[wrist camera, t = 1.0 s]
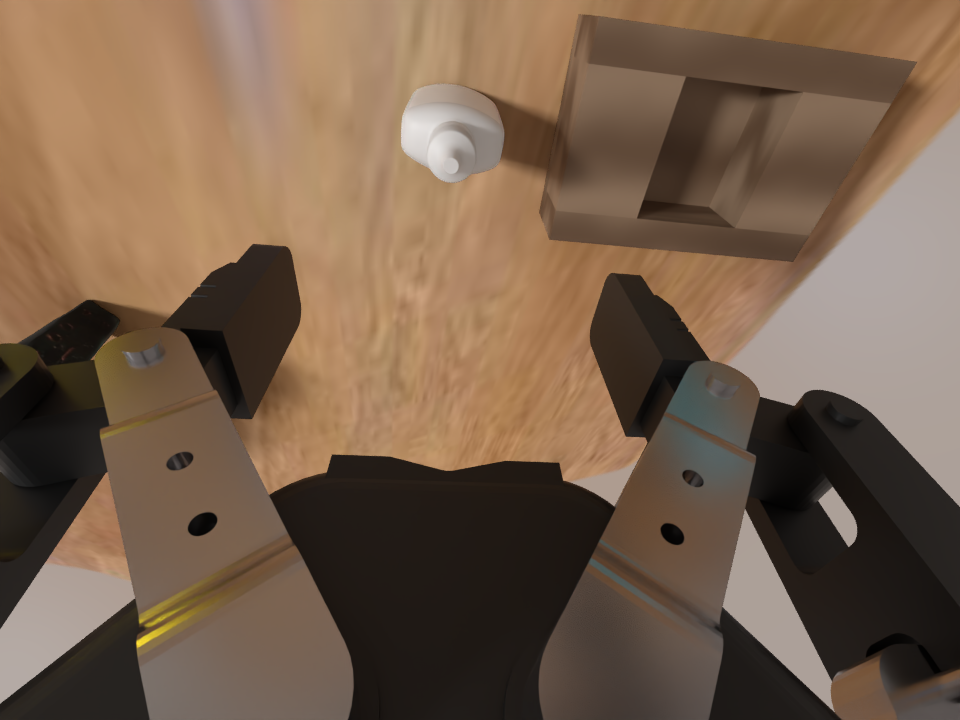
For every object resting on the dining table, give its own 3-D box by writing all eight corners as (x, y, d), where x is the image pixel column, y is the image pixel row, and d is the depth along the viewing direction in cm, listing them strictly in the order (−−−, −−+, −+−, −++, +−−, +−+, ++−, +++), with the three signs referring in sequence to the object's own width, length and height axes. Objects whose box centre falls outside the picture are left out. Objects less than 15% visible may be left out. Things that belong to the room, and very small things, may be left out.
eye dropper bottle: (438, 50, 27) (426, 75, 17) (507, 114, 29) (529, 166, 20) (400, 113, 29) (372, 166, 20) (467, 168, 31) (470, 238, 22)
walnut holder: (578, 14, 26) (599, 16, 22) (853, 53, 27) (917, 62, 24) (539, 212, 33) (549, 239, 29) (756, 233, 35) (792, 261, 31)
